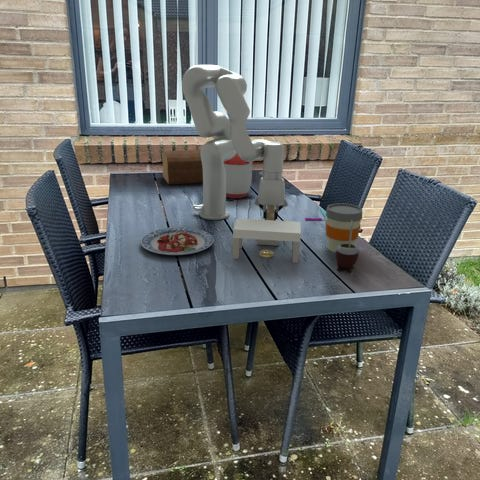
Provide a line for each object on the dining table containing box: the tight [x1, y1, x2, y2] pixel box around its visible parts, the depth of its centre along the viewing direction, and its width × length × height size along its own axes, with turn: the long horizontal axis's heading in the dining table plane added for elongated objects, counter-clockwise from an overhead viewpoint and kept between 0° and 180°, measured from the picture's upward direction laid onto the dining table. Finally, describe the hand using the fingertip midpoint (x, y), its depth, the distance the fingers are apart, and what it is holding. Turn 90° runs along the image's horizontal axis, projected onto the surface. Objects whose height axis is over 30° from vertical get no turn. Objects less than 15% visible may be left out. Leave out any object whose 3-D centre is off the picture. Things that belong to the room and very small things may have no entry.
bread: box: [161, 148, 203, 185], centre depth 250 cm, size 18×30×16 cm, turn 108°
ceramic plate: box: [140, 226, 214, 256], centre depth 167 cm, size 26×26×3 cm
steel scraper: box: [256, 205, 280, 247], centre depth 176 cm, size 8×21×12 cm, turn 174°
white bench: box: [232, 217, 302, 264], centre depth 160 cm, size 22×11×10 cm, turn 84°
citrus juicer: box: [224, 153, 255, 199], centre depth 224 cm, size 16×17×20 cm
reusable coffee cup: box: [325, 202, 363, 253], centre depth 165 cm, size 13×13×15 cm
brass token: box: [258, 249, 275, 259], centre depth 161 cm, size 5×5×1 cm
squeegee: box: [304, 208, 327, 222], centre depth 195 cm, size 29×2×10 cm
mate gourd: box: [335, 220, 359, 274], centre depth 149 cm, size 8×8×15 cm
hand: (270, 220), depth 185 cm, fingers closed on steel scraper, 3 cm apart
